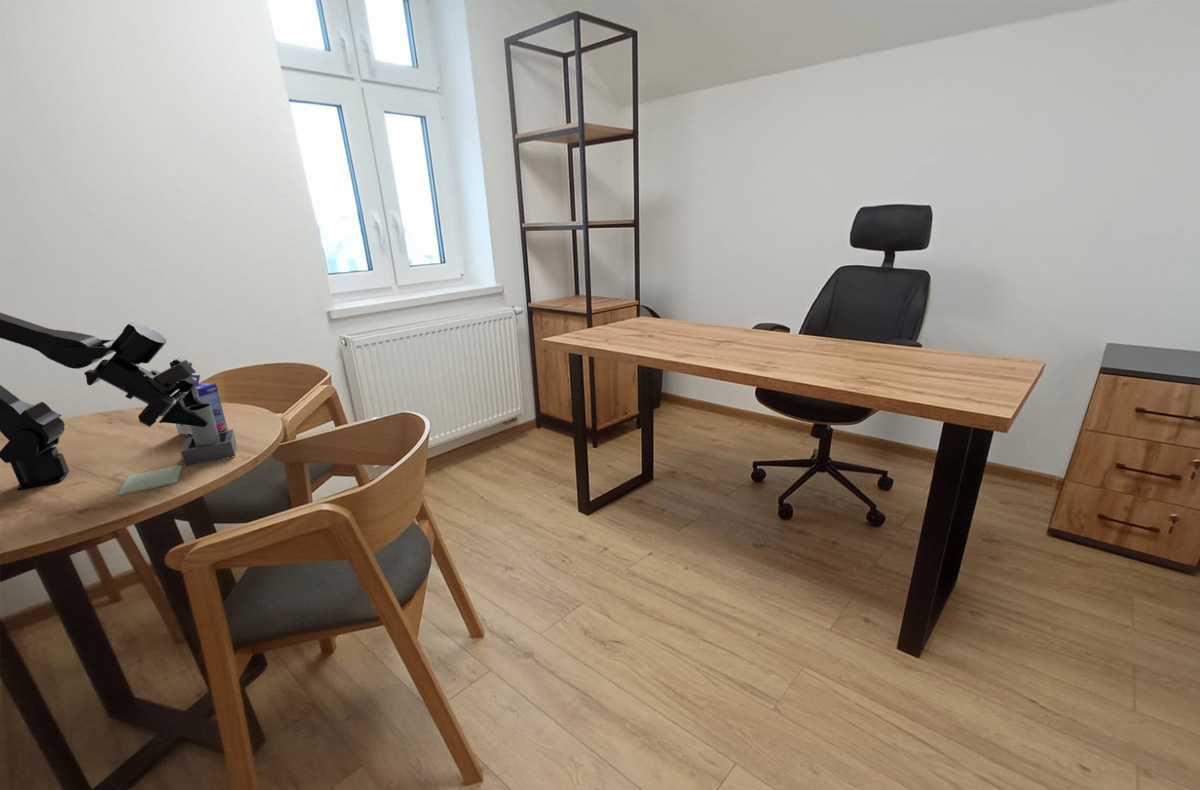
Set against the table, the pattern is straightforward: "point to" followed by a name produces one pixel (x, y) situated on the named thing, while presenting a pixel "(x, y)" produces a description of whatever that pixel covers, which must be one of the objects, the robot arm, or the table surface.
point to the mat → (151, 479)
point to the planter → (208, 432)
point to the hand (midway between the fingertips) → (209, 421)
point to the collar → (209, 449)
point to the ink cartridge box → (206, 396)
